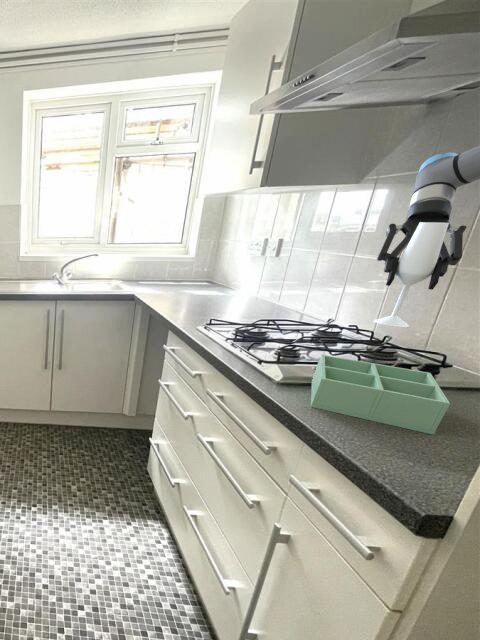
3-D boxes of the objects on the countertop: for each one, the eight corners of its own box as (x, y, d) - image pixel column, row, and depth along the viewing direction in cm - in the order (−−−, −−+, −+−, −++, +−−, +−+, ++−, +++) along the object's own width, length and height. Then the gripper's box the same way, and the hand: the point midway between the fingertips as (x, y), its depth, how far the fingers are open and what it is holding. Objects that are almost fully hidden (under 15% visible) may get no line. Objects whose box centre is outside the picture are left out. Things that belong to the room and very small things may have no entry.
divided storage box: (416, 400, 94) (430, 372, 92) (433, 434, 81) (450, 403, 78) (311, 379, 105) (321, 354, 102) (310, 406, 91) (321, 378, 88)
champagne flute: (369, 318, 110) (409, 221, 100) (403, 321, 107) (447, 222, 98) (378, 324, 105) (420, 223, 95) (414, 328, 102) (461, 223, 92)
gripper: (479, 221, 102) (462, 298, 97) (372, 219, 113) (352, 288, 108) (496, 197, 96) (480, 278, 91) (382, 197, 107) (361, 270, 102)
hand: (411, 284), depth 99 cm, fingers closed on champagne flute, 7 cm apart
